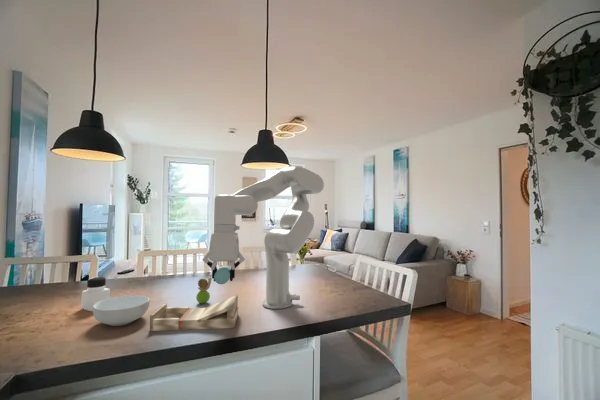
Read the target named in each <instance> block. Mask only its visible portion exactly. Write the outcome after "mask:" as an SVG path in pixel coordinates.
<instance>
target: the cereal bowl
mask: <svg viewBox="0 0 600 400" xmlns="http://www.w3.org/2000/svg"><path fill="white" fill-rule="evenodd" d="M150 301H151V299H150V298H149V297H148V296H146V295H140V294H138V295H137V294H129V295H127V294H125V295H120V296H119V295H118V296H114V297H110V298H108V299H105V300H102V301H99V302H97V303H96V304H94V306H93V311H92V313H93V317H94V319H95V320H96V321H97V322H99V323H101V324H104V325H107V326H112V327H116V326H117V327H121V326H125V325H129V324H131V323H133V322H135V321H136V320H138V319H140V318H141V317H143V316H144V315H145V314H146V313H147V311H148V310H149V307H150V303H151V302H150Z"/></svg>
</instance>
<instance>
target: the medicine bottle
mask: <svg viewBox="0 0 600 400" xmlns="http://www.w3.org/2000/svg"><path fill="white" fill-rule="evenodd" d="M106 282H107V278H106V277H104V276H94V277H91V278H89V279H87V285H86V286H87V288H86V289H85V290H82V291H81V299H80V301H81V303H80V305H81V306H80V310H83V309H84V311H88V312H92V313H93V306H94V304H96V303H97V302H99V301H102V300H105V299H108V298H111V291H112V290H111V289H110V288H107V287H106V285H107V284H106Z"/></svg>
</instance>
